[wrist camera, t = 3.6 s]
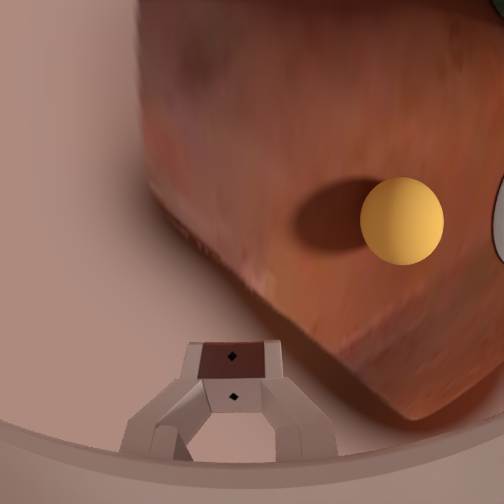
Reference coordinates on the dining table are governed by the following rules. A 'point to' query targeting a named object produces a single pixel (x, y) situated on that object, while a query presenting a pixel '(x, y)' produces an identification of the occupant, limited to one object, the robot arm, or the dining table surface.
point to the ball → (401, 221)
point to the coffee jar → (499, 6)
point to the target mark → (499, 222)
